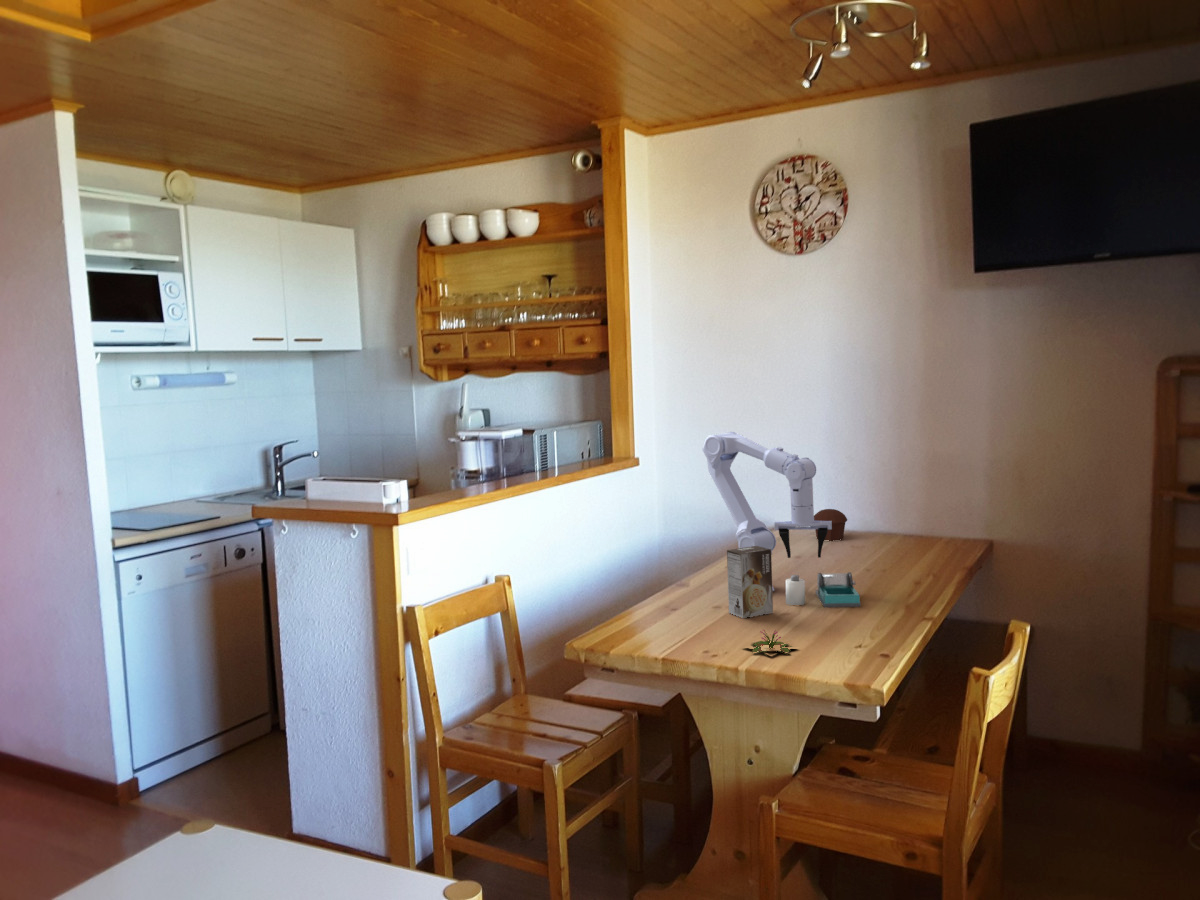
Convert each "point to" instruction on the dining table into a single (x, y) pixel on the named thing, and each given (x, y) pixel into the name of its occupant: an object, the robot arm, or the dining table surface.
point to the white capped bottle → (795, 590)
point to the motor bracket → (837, 590)
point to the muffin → (837, 523)
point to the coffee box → (750, 581)
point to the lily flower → (770, 643)
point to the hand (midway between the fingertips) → (804, 557)
